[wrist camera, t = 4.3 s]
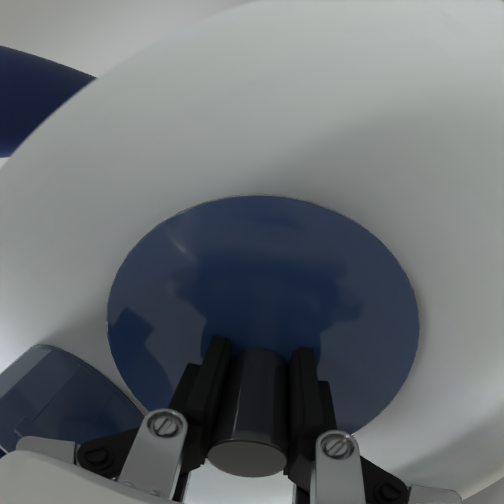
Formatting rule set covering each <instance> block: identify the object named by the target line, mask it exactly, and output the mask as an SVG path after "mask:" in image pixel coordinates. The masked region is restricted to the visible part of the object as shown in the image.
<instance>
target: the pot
mask: <svg viewBox="0 0 504 504" xmlns="http://www.w3.org/2000/svg"><path fill="white" fill-rule="evenodd" d="M144 418H145V417H144V416H143V415H142V414H141V412H140V411H139V410H138V409H137V408H136V406H135V405H134V404H133V403H132V402H131V401H130V400H129V399H128V398H127V397H126V396H125V395H124V394H123V393H122V392H121V391H120V390H119V389H118V388H117V387H116V386H114V385H113V384H112V383H111V382H110V381H109V380H107V379H106V378H105V377H104V376H103V375H101V374H100V373H99V372H97V371H96V370H95V369H93V368H92V367H91V366H89V365H88V364H86V363H85V362H83V361H82V360H80V359H78V358H77V357H75V356H73V355H72V354H70V353H68V352H66V351H64V350H61V349H59V348H56V347H53V346H49V345H35V346H33V347H31V348H30V349H28V350H27V351H26V352H25V353H23V354H22V355H21V356H20V357H19V358H17V359H16V360H15V361H14V362H13V363H12V364H10V365H9V366H8V367H7V368H6V369H5V370H4V371H3V372H1V373H0V459H1V458H2V457H3V456H5V455H6V454H8V453H10V452H12V451H15V450H16V445H17V443H18V441H19V440H20V439H21V438H23V437H25V436H35V437H41V438H48V439H55V440H63V441H73V442H75V443H76V444H79V445H82V444H83V443H84V442H86V441H89V440H92V439H97V438H101V437H105V436H108V435H112V434H116V433H119V432H123V431H126V430H130V429H133V428H137V427H140V426H141V424H142V421H143V419H144Z"/></svg>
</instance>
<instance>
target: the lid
mask: <svg viewBox="0 0 504 504" xmlns="http://www.w3.org/2000/svg"><path fill="white" fill-rule="evenodd" d="M106 323H107V334H108V340H109V345H110V349H111V353H112V356H113V358H114V361H115V363H116V366H117V368H118V370H119V372H120V374H121V376H122V378H123V379H124V381H125V383H126V384H127V386H128V387H129V389H130V390H131V391H132V393H133V394H134V395H135V397H136V398H137V399H138V400H139V401H140V402H141V403H142V405H143V406H144V407H145V408H146V409H148V410H149V411H150V412H151V411H153V410H155V409H160V408H168V406H169V403H170V401H171V399H172V397H173V394H174V392H175V390H176V388H177V386H178V383H179V381H180V379H181V377H182V374H183V372H184V370H185V368H186V366H187V364H188V363H193V364H198V365H201V364H202V362H203V359H204V356H205V354H206V351H207V349H208V346H209V343H210V341H211V338H212V336H213V335H215V336H221V337H227V341H230V342H231V353H230V363H229V367H228V371H227V375H226V379H225V383H224V387H223V391H222V395H221V399H220V402H219V406H218V410H217V414H216V418H215V422H214V426H213V430H212V433H211V437H210V440H209V444H208V448H207V457H208V460H209V461H210V462H211V464H213V465H214V466H215V467H216V468H218V469H220V470H222V471H224V472H226V473H229V474H232V475H236V476H241V477H265V476H270V475H274V474H276V473H279V472H280V471H282V470H283V469H284V468H285V467H286V466H287V464H288V462H289V380H288V369H289V365H290V361H291V357H292V353H293V350H298V348H299V347H304V348H313V351H314V357H315V364H316V370H317V377H318V380H321V381H328V382H329V385H330V390H331V395H332V401H333V406H334V412H335V418H336V424H337V430H341V431H344V432H347V433H349V434H350V435H351V434H353V433H354V432H356V431H358V430H359V429H361V428H362V427H364V426H365V425H367V424H368V423H369V422H370V421H372V420H373V419H374V418H375V417H377V416H378V415H379V414H380V413H381V412H382V411H383V410H384V409H385V408H386V407H387V406H388V405H389V404H390V402H391V401H392V400H393V398H394V397H395V396H396V395H397V393H398V392H399V390H400V389H401V387H402V385H403V384H404V382H405V380H406V379H407V377H408V374H409V372H410V370H411V367H412V365H413V362H414V358H415V355H416V351H417V347H418V337H419V317H418V308H417V304H416V299H415V295H414V292H413V289H412V287H411V285H410V282H409V280H408V278H407V275H406V273H405V272H404V270H403V269H402V267H401V265H400V264H399V262H398V261H397V259H396V258H395V256H394V255H393V254H392V253H391V252H390V251H389V250H388V249H387V247H386V246H385V245H384V244H383V243H382V242H381V241H380V240H379V239H378V238H377V237H375V236H374V235H373V234H372V233H370V232H369V231H368V230H366V229H365V228H364V227H363V226H361V225H360V224H359V223H357V222H356V221H354V220H352V219H350V218H348V217H347V216H345V215H343V214H341V213H339V212H337V211H336V210H333V209H331V208H328V207H325V206H323V205H320V204H317V203H315V202H312V201H308V200H303V199H299V198H294V197H289V196H284V195H270V194H248V195H235V196H228V197H224V198H219V199H215V200H211V201H206V202H204V203H201V204H199V205H196V206H193V207H191V208H188V209H186V210H183V211H181V212H179V213H177V214H176V215H174V216H172V217H170V218H169V219H167V220H165V221H164V222H162V223H160V224H159V225H157V226H156V227H155V228H154V229H152V230H151V231H150V232H149V233H148V234H146V235H145V236H144V237H143V238H142V239H141V240H140V241H139V242H138V243H137V244H136V245H135V247H134V248H133V249H132V250H131V251H130V252H129V254H128V255H127V257H126V258H125V260H124V261H123V263H122V265H121V266H120V268H119V270H118V272H117V274H116V277H115V279H114V282H113V284H112V287H111V291H110V295H109V300H108V304H107V319H106Z"/></svg>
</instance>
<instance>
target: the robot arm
mask: <svg viewBox="0 0 504 504" xmlns="http://www.w3.org/2000/svg"><path fill="white" fill-rule="evenodd" d="M230 353H231V342H230V341H227V337H221V336H215V335H213V336H212V338H211V341H210V343H209V346H208V349H207V351H206V354H205V356H204V359H203V362H202V364H201V365H198V364H193V363H188V364H187V366H186V368H185V370H184V372H183V374H182V377H181V379H180V381H179V383H178V386H177V388H176V390H175V392H174V394H173V397H172V399H171V401H170V403H169V406H168V408H160V409H155V410H153V411H151V412H149V413H148V414H147V415H146V416H145V418H144V419H143V421H142V424H141V426H140V427H137V428H133V429H130V430H126V431H123V432H119V433H116V434H112V435H108V436H105V437H101V438H97V439H92V440H89V441H86V442H84V443H83V444H82V445H79V444H76V443H75V442H73V441H63V440H55V439H48V438H41V437H35V436H25V437H23V438H21V439H20V440H19V441H18V443H17V445H16V450H15V451H12V452H10V453H8V454H6V455H5V456H3V457H2V458H1V459H0V504H184V502H185V498H186V493H187V489H188V484H189V480H190V475H191V471H192V470H194V469H197V468H199V467H200V465H201V464H202V465H204V462H205V458H208V457H207V448H208V444H209V440H210V437H211V433H212V430H213V426H214V422H215V418H216V414H217V410H218V406H219V402H220V399H221V395H222V391H223V387H224V383H225V379H226V375H227V371H228V367H229V363H230ZM288 380H289V462H288V464H287V466H286V467H285V468H284V469H283V475H288V479H290V480H291V481H292V482H293V483H294V485H293V497H292V504H462V498H461V496H460V494H458V493H457V492H456V491H453V490H447V489H438V488H430V487H424V486H418V485H411V486H410V487H408V486H406V485H405V483H404V482H403V481H401V480H400V479H399V478H397V477H395V476H393V475H392V474H390V473H388V472H386V471H385V470H383V469H381V468H380V467H378V466H376V465H375V464H373V463H372V462H370V461H368V460H367V459H365V458H364V457H362V456H360V454H359V447H358V443H357V441H356V439H355V438H354V437H353V436H352V435H350V434H349V433H347V432H344V431H341V430H337V424H336V418H335V412H334V406H333V401H332V395H331V390H330V385H329V382H328V381H321V380H318V377H317V370H316V364H315V357H314V351H313V348H304V347H299V348H298V350H293V353H292V357H291V361H290V365H289V369H288Z"/></svg>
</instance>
